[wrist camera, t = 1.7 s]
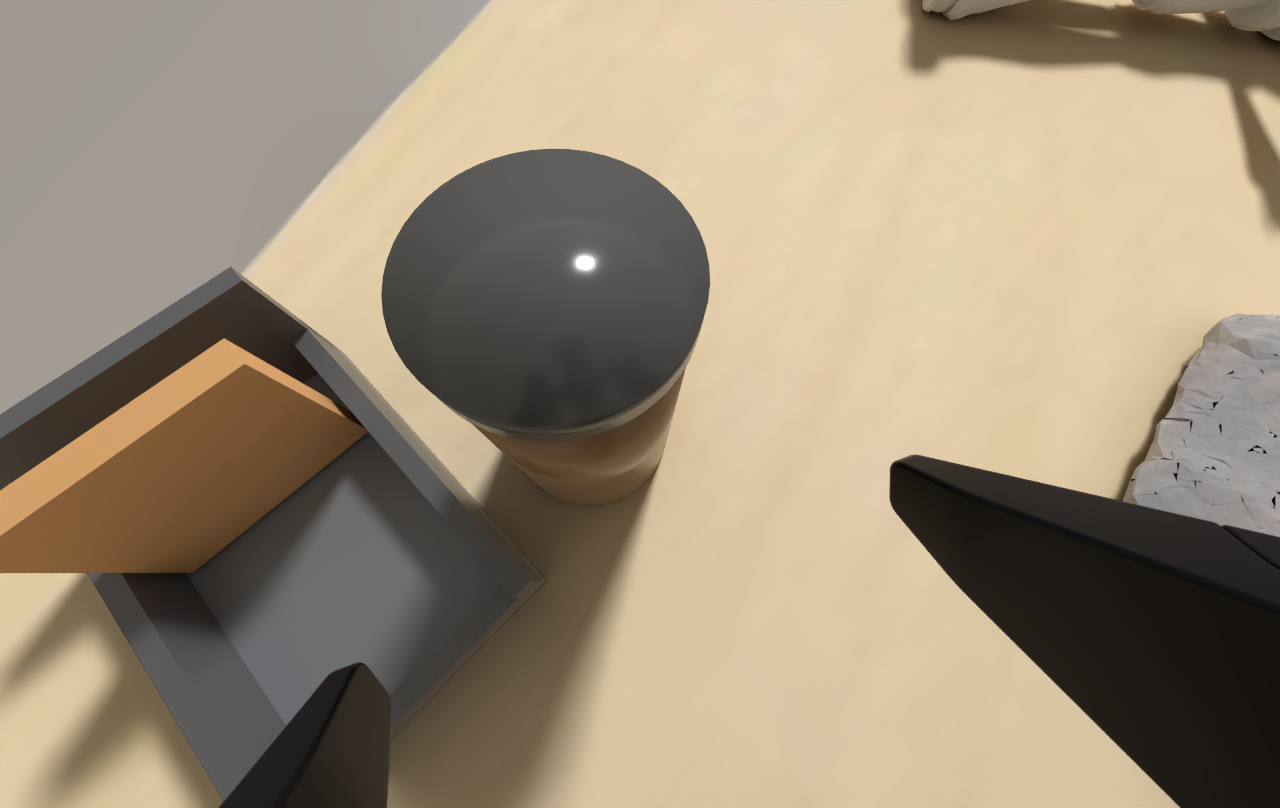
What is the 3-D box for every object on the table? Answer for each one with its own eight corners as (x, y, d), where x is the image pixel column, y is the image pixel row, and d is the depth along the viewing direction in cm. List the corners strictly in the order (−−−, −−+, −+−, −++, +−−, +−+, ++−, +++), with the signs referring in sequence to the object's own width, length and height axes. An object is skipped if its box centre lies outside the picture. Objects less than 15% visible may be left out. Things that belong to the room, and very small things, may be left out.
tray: (546, 580, 19) (504, 583, 13) (325, 803, 17) (138, 946, 10) (342, 352, 23) (230, 266, 16) (131, 508, 20) (-99, 478, 14)
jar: (683, 491, 21) (746, 392, 9) (522, 521, 20) (381, 455, 9) (652, 349, 23) (673, 132, 12) (507, 372, 23) (381, 168, 11)
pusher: (369, 430, 20) (245, 363, 14) (193, 572, 18) (-53, 573, 12) (353, 412, 21) (224, 338, 14) (178, 550, 19) (-70, 538, 12)
